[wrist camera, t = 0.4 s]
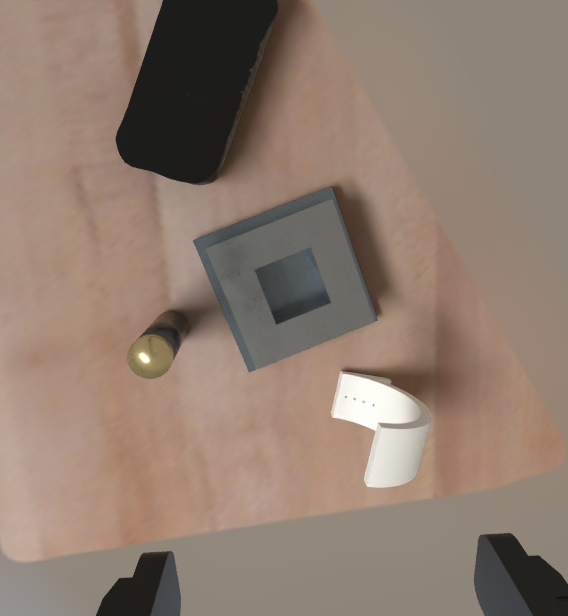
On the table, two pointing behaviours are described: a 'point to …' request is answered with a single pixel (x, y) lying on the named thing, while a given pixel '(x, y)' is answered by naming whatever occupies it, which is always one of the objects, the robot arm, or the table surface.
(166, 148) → the black sponge
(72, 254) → the table surface
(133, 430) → the table surface
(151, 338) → the brass pin
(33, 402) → the table surface
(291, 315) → the square hole socket
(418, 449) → the headphone stand
